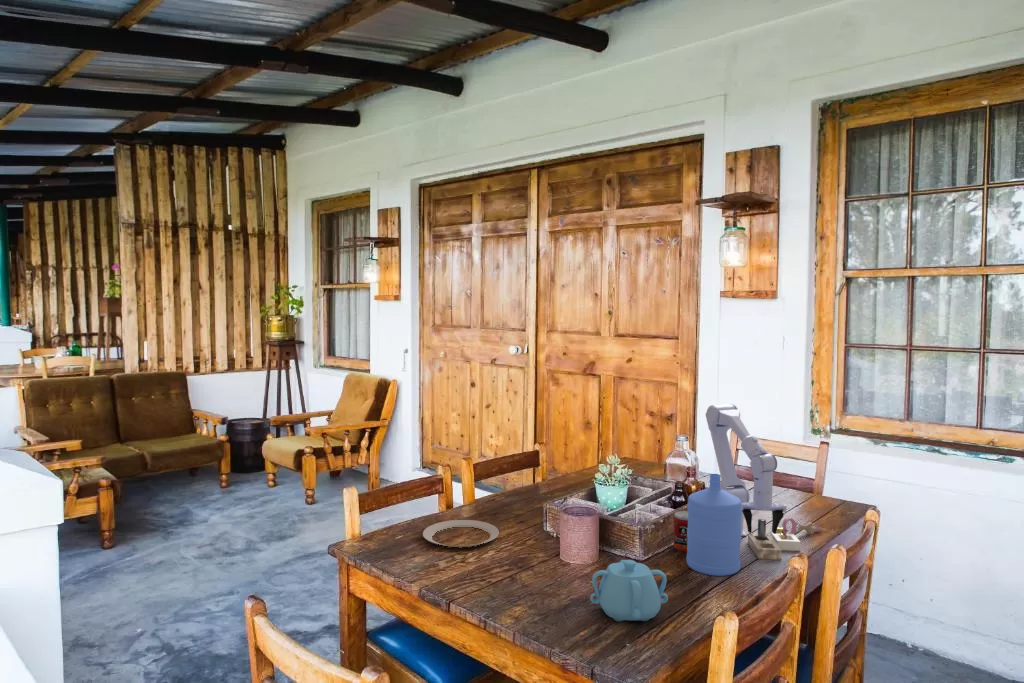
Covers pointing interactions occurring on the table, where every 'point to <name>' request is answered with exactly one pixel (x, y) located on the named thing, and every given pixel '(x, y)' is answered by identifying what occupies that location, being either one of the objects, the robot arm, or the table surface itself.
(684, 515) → the canned food
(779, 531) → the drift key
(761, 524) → the drill bit
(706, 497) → the water jug
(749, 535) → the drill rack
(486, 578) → the table surface
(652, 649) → the table surface
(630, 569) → the decorative pot
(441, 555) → the table surface
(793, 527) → the decorative key
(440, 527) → the plate
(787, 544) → the socket block
